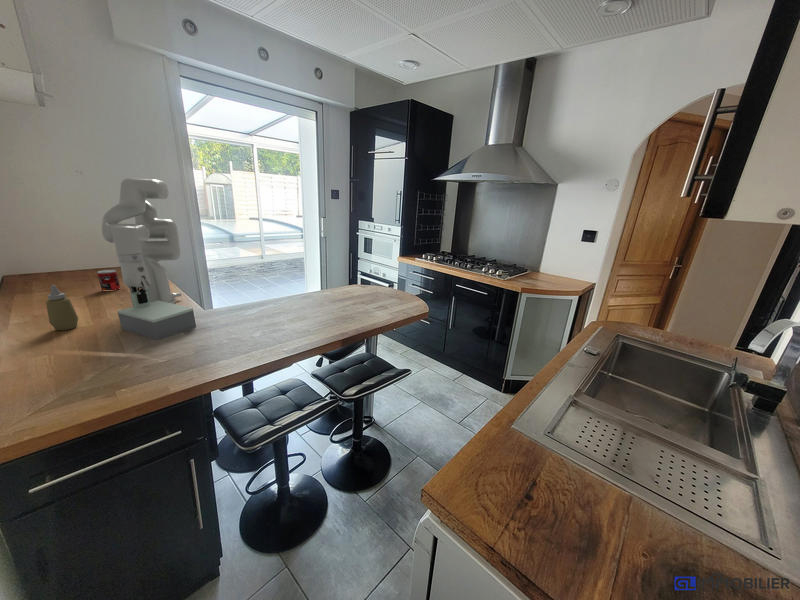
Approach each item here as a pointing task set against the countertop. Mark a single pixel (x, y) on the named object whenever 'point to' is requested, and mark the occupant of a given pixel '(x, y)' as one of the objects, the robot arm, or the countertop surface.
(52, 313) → the squeeze bottle
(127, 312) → the lid
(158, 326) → the tub
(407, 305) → the countertop surface
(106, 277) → the canned food
